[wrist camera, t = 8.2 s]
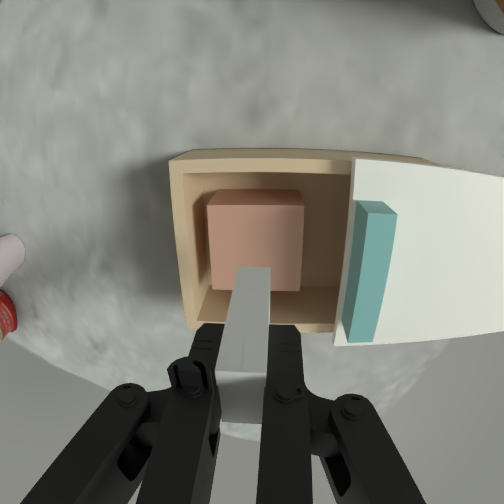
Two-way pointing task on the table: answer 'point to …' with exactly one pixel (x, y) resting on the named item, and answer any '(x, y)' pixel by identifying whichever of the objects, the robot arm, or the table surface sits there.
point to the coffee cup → (492, 13)
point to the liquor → (7, 315)
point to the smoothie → (10, 256)
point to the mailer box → (264, 228)
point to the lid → (420, 254)
